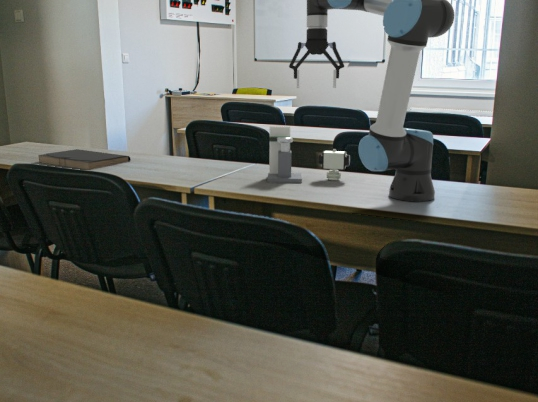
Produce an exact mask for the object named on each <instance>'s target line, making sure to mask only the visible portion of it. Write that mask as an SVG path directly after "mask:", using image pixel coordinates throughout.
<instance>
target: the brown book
mask: <svg viewBox="0 0 538 402" xmlns="http://www.w3.org/2000/svg"><path fill="white" fill-rule="evenodd" d="M128 162H129V163H130V162H131V157H130V155H124V154H116V153H108V152H100V151H95V150H94V151H93V150H87V149H86V150H85V149H78V148H77V149H69V150H62V151H56V152H55V151H54V152H49V153H44V154H38V163H41V164H42V163H43V164H49V165H55V166H64V167H69V168H76V169H77V168H78V169H83V170H89V171H91V170H96V169H101V168H106V167H110V166H115V165H120V164H125V163H128Z"/></svg>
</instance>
